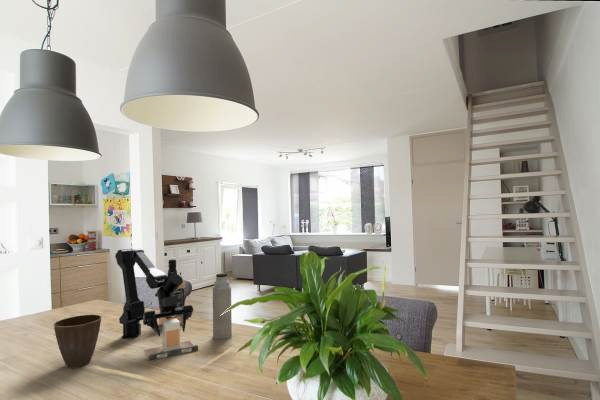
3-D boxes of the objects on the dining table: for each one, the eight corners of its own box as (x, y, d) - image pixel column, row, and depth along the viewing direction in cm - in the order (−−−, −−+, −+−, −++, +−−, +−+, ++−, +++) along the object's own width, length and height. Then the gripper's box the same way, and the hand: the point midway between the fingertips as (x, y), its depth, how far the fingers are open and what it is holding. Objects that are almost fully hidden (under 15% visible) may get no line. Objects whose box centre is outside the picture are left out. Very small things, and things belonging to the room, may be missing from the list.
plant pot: (50, 376, 121) (50, 329, 122) (56, 361, 134) (57, 318, 135) (100, 367, 128) (100, 322, 129) (101, 353, 141) (101, 312, 142)
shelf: (149, 363, 130) (149, 356, 130) (143, 352, 141) (143, 345, 141) (198, 352, 140) (198, 345, 140) (189, 343, 151) (189, 336, 151)
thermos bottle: (220, 334, 161) (220, 272, 162) (235, 336, 158) (234, 273, 159) (209, 340, 154) (208, 275, 155) (224, 342, 150) (223, 276, 151)
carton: (165, 355, 136) (165, 324, 136) (162, 350, 140) (162, 320, 141) (180, 351, 138) (180, 321, 139) (176, 347, 143) (176, 318, 144)
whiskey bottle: (177, 319, 186) (177, 257, 187) (186, 323, 179) (186, 259, 180) (158, 324, 179) (157, 260, 180) (167, 328, 172) (166, 261, 173)
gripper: (143, 291, 139) (148, 327, 129) (192, 285, 149) (199, 318, 139) (140, 307, 145) (145, 342, 135) (187, 300, 155) (194, 333, 145)
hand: (171, 333), depth 139 cm, fingers open, 9 cm apart
